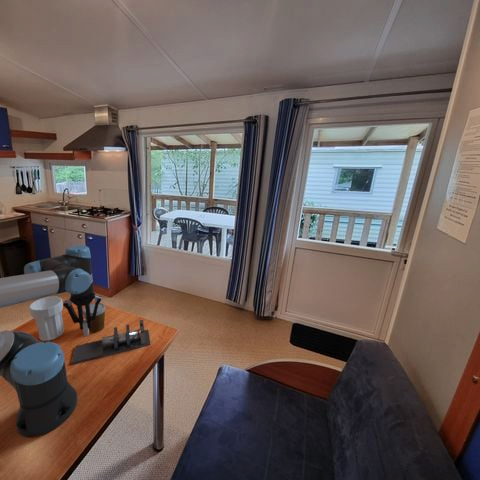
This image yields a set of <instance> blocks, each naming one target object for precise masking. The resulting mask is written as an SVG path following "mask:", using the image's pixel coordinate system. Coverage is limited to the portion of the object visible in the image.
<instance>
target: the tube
mask: <svg viewBox="0 0 480 480" xmlns="http://www.w3.org/2000/svg"><path fill="white" fill-rule="evenodd" d="M129 331H130V332H129V333H130V340H135V339H140V338H141V330H140V328H138V329H135V330H129ZM101 340H102V347H105V346H109V345H114V334H113V335H108V336H104V337H102V338H101ZM126 341H127V334H126V331H125V332H121V333H118V334H117V343H122V342H126Z"/></svg>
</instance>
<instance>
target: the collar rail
mask: <svg viewBox="0 0 480 480" xmlns="http://www.w3.org/2000/svg"><path fill="white" fill-rule="evenodd" d="M125 328H126V331H125V332H126V334H127V341H126V342H122V343H117V334H119V333H118V326H115V327H113V335H114V345H109V346H105V347H102V339H99V340H95V341H91V342H86V343H82V344H77V345H75V347H74V350H73V355H72V359H71V365H76V364H80V363H85V362H87V361H92V360H95V359H99V358H104V357H107V356H111V355H115V354H119V353H123V352H127V351H130V350H134V349H135V350H136V349H138V348H139V349H140V348H143V347H146V346H150V345H151V338H150V332H149V329H145V326H144V319H139V329H140V330H141V338H140V339H135V340H130V333H129V332H130V331H131V330H130V324H125Z"/></svg>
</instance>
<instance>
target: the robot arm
mask: <svg viewBox="0 0 480 480" xmlns="http://www.w3.org/2000/svg"><path fill="white" fill-rule="evenodd" d="M64 253H65V254H61V255H57V256H53V257H49V258H45V259H41V260H40V259H38V260H36V261H31V262H29V263H27V264H25V265H24V267H23V272H24V273H23V274H18V275H12V276H11V275H10V276H6V277H0V309H1V308H6V307H11V306H13V305H18V304H22V303H26V302H29V301H36V300H39V299H42V298H45V297H52V296H55V295H59V294H64V293H68V294H70V297H69V299H68V300H64V302H63V308H65V309H66V310H67V312H68V314H69V316H70V318H71V320H72V322H73V323H74V324H77V323H78V324H79V329H80V330H83V337H84V338H86V337H89V336H90V335H89V334H90V331H89V328H91V320H95V318H96V313H97V309H98V305H99V303H101V301H102V298H103V297H102V296H101V295H99V296H98V295H96V293H95V292H94V280H93V268H92V256H91V250H90V247H89V246H87V245H82V244H81V245H71V246H69V247H67V248H66V249H65V252H64ZM93 300H94V302H95V307H94V311H93V316H91V313H90V304H92V302H93ZM73 305H75V306H76V307H77V308H76V309H77V313H76V311H75V308H74V307H73ZM83 307H84V308H85V309H86V319H85V317H84V314H83V311H84V308H83ZM65 361H66V360H65V354H64V351H63V350H62V347H61V346H60V345H59V344H57V343H56V342H52V341H49V342H43V341H40V340H38V338H36V337H34V336H33V335H32V334H30V333H29V332H28V333H27V332H25V331H20V330H19V331H18V330H16V331H15V330H14V331H12V330H8V329H7V330H2V331H0V376H1V377H2V378H3V379H4V380H5V381H6V382H7V383H8V384H10V385H11V386H12V388H13V389H14V390H15V392H16V395H17V398H18V403H19V408H18V411H17V416H16V420H15V425H16V429H17V432H18V434H20V435H21V436H23V437H25V438H34V437H39V436H43V435H45V434H46V435H47V433H50V432H52V431H53V430H55V429H57V428H58V427H60V426H61V425H62V424H63V423H64V422H65V421H67V419H68V418H70V417H71V415H72V414H73V413H74V411H75V410H76V407H77V405H78V400H79V399H78V393H77V390H76V388H74V386H73V385H72V384H71V383H70V382H68V381H69V380H68V375H67V374H68V373H67V368H66V362H65Z"/></svg>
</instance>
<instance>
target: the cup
mask: <svg viewBox="0 0 480 480" xmlns="http://www.w3.org/2000/svg"><path fill="white" fill-rule="evenodd" d="M63 304H64V302H63V298H62V297H60V296H55V295H51V296H47V297H43V298H39V299H36V300H34V301H32V303H30V304H29V311H30V315H31V318H33V319H34V320H35V324H36V329H37V332H38V335H39V336H38V337H39V341H40V342H44V343H46V342H52V341H55V340H57V338H58V339H59V338H60V337H62V336H63V335H64V334H65V328H64V320H63V314H62V312H63V308H64V306H63Z"/></svg>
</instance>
